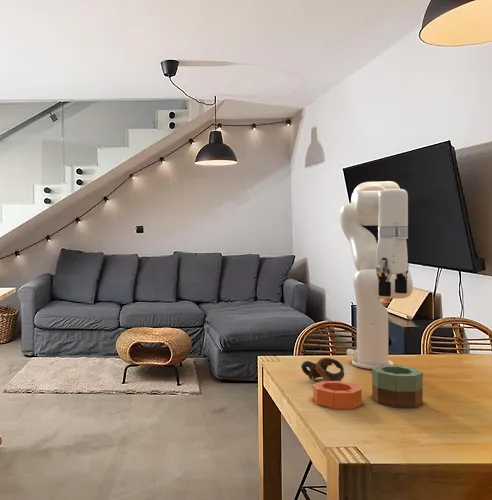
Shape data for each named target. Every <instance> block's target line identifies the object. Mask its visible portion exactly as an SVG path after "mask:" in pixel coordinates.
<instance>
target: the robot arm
mask: <svg viewBox="0 0 492 500" xmlns="http://www.w3.org/2000/svg"><path fill="white" fill-rule="evenodd" d="M339 222H340V226H341V229H342V232H343V234H344V236H345V237H346V239H347V241H348V242H349V246H350V250H351V255H352V260H353V264H354V267H355V269H356V271H357V272H356V273H355V274H354V275H353V276H354V277H353V288H354V294H355V305H356V349H351V348H347V349H346V356H349V357H353V359H351V364H352V365H353V366H354V367H358V368H361V369H367V370H372V368H374V367H376V366H379V365H395V363H394V362H393V361H391V360H389V311H388V309H387V308H386V307H385V305H384V304H383V303H382V302H381V301H380V300H384V299H407V298H408V297H410V296H411V295H412V294H413V289H414V284H413V278H412V274H411V271H410V268H409V266H410V263H409V262H408V260H409V259H408V258H409V255H408V243H407V239H409V195H408V191H407V190H406V189H403V188H400V185H399V184H398V183H397V182H396V181H391V180H387V181H386V180H385V181H365V182H362V183H359V184H358V185H357V186H356V187H355V188H354V190H353V192H352V194H351V198H350V202H349V203H347V204H344V205H343V206H342V207H341V208H340V211H339ZM364 226H366V227H367V226H377V231H378V232H377V238H376V237H375V235H374V234H373V233H372V232H371V231H370V230H368V229H367V228H366V227H364Z"/></svg>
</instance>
